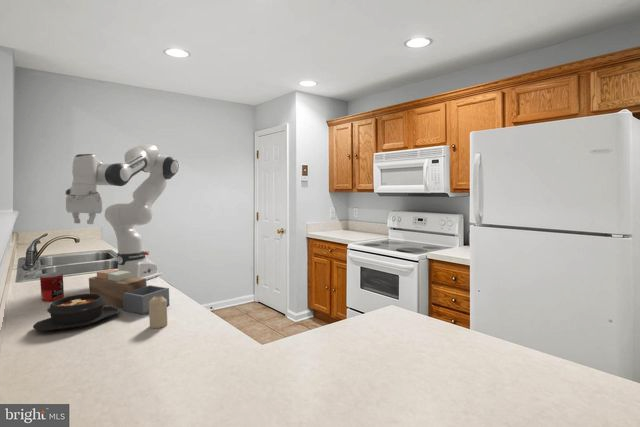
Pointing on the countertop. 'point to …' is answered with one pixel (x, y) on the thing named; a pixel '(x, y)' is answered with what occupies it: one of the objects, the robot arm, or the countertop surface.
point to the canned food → (51, 286)
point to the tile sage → (119, 275)
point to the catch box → (143, 298)
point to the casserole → (75, 312)
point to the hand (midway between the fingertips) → (83, 223)
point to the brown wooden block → (114, 289)
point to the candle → (158, 312)
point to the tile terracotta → (105, 273)
